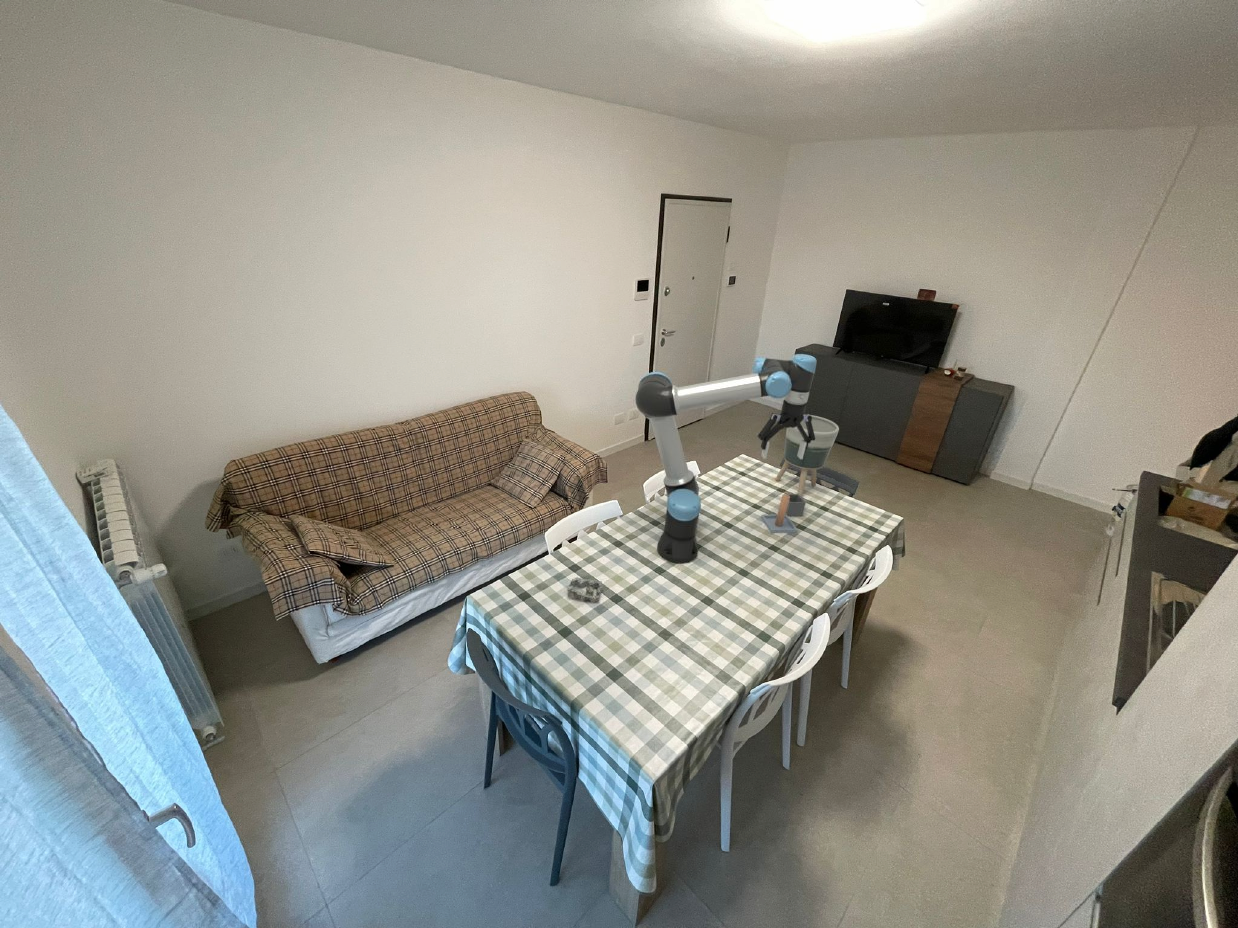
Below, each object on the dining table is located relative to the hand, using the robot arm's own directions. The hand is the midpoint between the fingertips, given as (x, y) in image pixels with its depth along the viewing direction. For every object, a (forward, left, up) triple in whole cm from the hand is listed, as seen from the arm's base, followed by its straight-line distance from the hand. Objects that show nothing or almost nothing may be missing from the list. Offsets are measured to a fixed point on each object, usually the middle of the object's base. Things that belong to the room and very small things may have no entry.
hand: (781, 457), depth 176 cm
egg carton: (-71, -26, -37) cm, 84 cm away
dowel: (+11, +10, -36) cm, 39 cm away
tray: (+11, +10, -37) cm, 40 cm away
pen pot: (+21, +20, -37) cm, 46 cm away
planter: (+33, +41, -37) cm, 64 cm away
